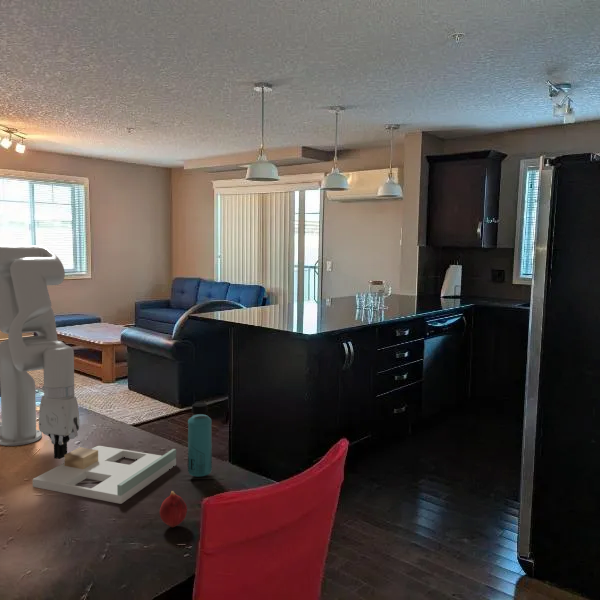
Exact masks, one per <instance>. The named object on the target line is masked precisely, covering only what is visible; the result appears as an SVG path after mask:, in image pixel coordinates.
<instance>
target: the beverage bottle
mask: <svg viewBox="0 0 600 600" xmlns="http://www.w3.org/2000/svg"><path fill="white" fill-rule="evenodd" d="M208 412H209V409H208V404H207V403H205V402H196V403H193V404H192V406H191V413H192V414H193V415H192V416H191V417H189V418H188V420H187V459H186V461H187V472H188V474H189V475H190V476H193V477H206V476H208V475H210V474H211V473H212V470H213V450H212V449H213V442H212V421H213V420H212V418H211V417H209V416H208V414H207V413H208ZM206 414H207V415H206Z"/></svg>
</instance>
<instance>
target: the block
mask: <svg viewBox="0 0 600 600" xmlns="http://www.w3.org/2000/svg"><path fill="white" fill-rule="evenodd" d="M63 459H64V461H63V462H64V463H65V466H68V467H74V468H80V469H85V468H86V467H88V466H90V465H92V464H94V463H95V462H97V461H98V450H94V449H92V448H88V447H87V448H86V447H81V446H80V447H77V448H76V449H74V450H72V451H69V452H67V454H65V455H64V457H63Z"/></svg>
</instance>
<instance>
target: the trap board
mask: <svg viewBox="0 0 600 600" xmlns="http://www.w3.org/2000/svg"><path fill="white" fill-rule="evenodd" d="M91 449H94V450H98V461H97V462H95V463H94V464H92V465H90V466H88V467H86V468H85V469H80V468H74V467H68V466H65V462H63V463H61V464H59V465H57V466H56V467H54V468H52V469H50V470H48V471H46V472H44V473H42V474H40V475H38V476H36V477H34V478H32V487H33V488H37V489H38V488H39V489H43V490H48V491H54V492H57V493H62V494H63V493H64V494H68V495H73V496H77V497H78V496H79V497H84V498H89V499H94V500H99V501H104V502H110V503H115V504H124V502H126V501H127V500H129V499H130V498H132V497H133V496H135V495H136V494H138V493H139V492H140V491H141V490H143V489H144V488H146V487H147V486H149V485H150V484H151V483H152V482H154V481H156V480H157V479H158V478H160V477H161V476H162V475H164V474H166V473H167V472H168V471H170V470H171V469H173V468H174V467H176V465H177V449H176V448H171V450H169V451H168V452H166V453H164V454H163V455H161V454H154V453H150V452H149V453H147V452H141V451H135V450H130V449H129V450H128V449H122V448H117V447H110V446H102V445H97V446H95V447H92V448H91ZM124 457H125V459H131V460H135V461H134V462H132V463H130V464H127V463H122V462H121V463H120V462H117V461H119V460H120V459H123V458H124ZM136 459H137V460H136ZM173 466H174V467H173ZM169 469H170V470H169ZM84 480H93V481H98V482H99V483H98V484H96V485H94V486H93V487H91V488H90V487H87V486H86V487H85V486H82V485H81V486H80V485H78V484H80V483H82V482H83V481H84Z"/></svg>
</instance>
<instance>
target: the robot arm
mask: <svg viewBox="0 0 600 600" xmlns="http://www.w3.org/2000/svg"><path fill="white" fill-rule="evenodd" d="M65 276H66V273H65V268H64V265H63V263H62V261H61V259H60V258H59V257H58V256H57V255H56V254H55V253H53V251H51V250H50V249H49V248H48V247H46V246H44V245H37V244H0V332H1V333H3V334H6V335H8V336H7V339H5V340H3V341H1V342H0V407H1V408H0V413H1V414H0V415H1V417H0V418H1V421H0V446H5V447H10V446H11V447H14V446H15V447H16V446H23V445H28V444H32V443H35V442H37V441H39V440H40V439H41V438H42V437H43V435H45V436H48V437H49V439H50V441H51V444H52V445H53V457H54V458H53V459H58V460H61V459H64V455H65V454H67V453H68V443H69V442H70V440H73V439H76V438H78V436H79V434H78V431H79V430H80V411H79V405H78V399H77V395H75V352H74V349H73V347H72V346H69V345H66V343H65V342H63V341H61V340H58V333H57V325H56V323H57V322H56V317H55V313H54V310H53V308H52V300H51V297H50V294H49V293H50V292H49V289H48V286H58V285H61V284H62V283H63V282H64V280H65ZM27 333H36V334H37V335H35V336H24V337H23V334H27ZM39 370H43V385H42V386H41V390H43V393H44V394H43V396H41V399H40V404H39V412H38V429H37V404H36V403H37V402H36V399H37V398H36V381H35V379H34V377H32V375H31V374H29V372H31V371H34V372H35V371H39Z"/></svg>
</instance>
